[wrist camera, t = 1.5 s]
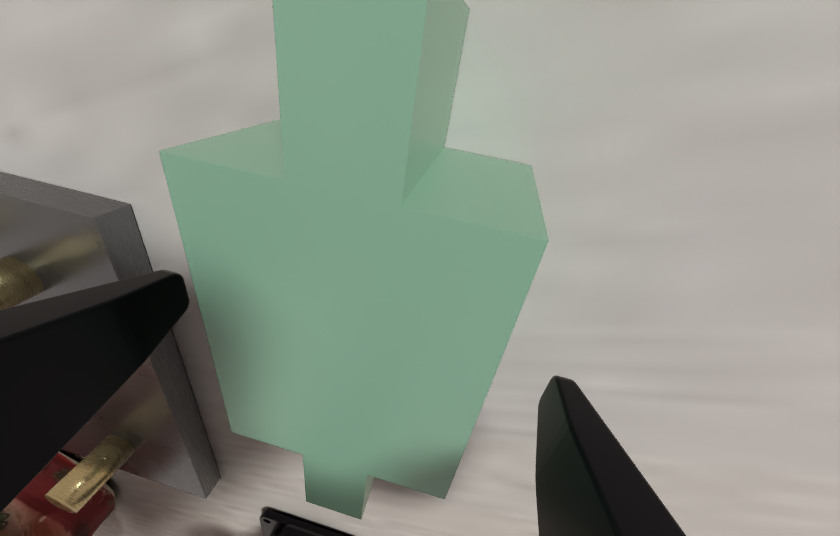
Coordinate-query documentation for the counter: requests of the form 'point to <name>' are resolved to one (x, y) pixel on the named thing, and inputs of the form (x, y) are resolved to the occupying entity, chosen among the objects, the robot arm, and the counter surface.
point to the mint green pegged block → (358, 251)
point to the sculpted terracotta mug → (54, 507)
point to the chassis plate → (154, 380)
